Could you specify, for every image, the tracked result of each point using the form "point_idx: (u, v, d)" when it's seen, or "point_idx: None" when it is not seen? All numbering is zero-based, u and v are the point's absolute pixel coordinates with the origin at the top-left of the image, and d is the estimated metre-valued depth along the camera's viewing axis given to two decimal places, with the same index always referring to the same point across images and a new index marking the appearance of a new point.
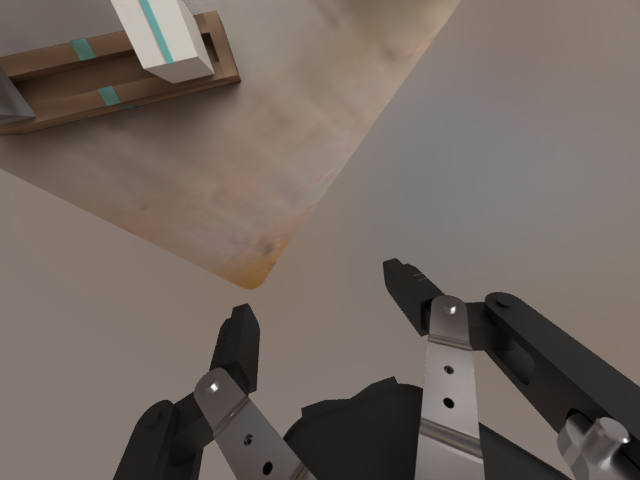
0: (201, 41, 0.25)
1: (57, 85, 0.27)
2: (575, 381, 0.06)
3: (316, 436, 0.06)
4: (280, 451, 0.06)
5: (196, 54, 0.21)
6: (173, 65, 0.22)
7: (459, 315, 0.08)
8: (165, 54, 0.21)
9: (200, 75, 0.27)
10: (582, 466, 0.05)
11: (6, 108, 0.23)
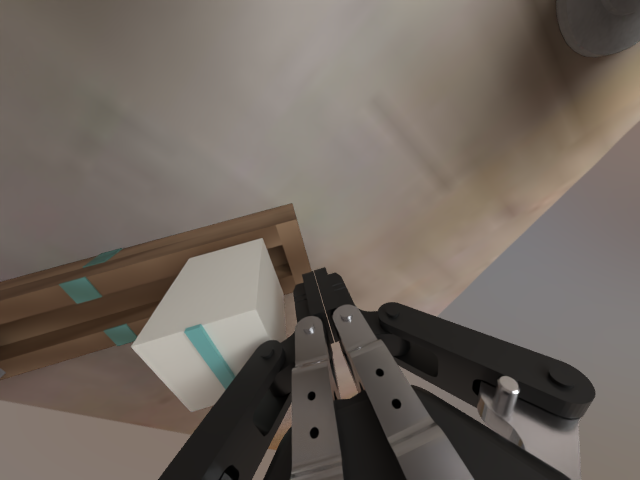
0: (272, 273, 0.15)
1: (41, 314, 0.17)
2: (469, 358, 0.07)
3: (316, 436, 0.06)
4: (329, 429, 0.06)
5: None
6: None
7: (350, 324, 0.09)
8: None
9: None
10: (510, 430, 0.06)
11: None
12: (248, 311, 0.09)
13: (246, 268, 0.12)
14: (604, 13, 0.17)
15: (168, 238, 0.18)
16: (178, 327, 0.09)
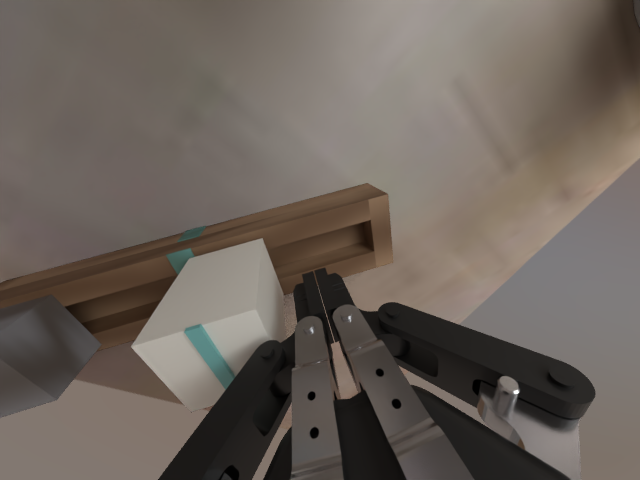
0: (272, 273, 0.15)
1: (132, 288, 0.18)
2: (469, 358, 0.07)
3: (316, 436, 0.06)
4: (329, 429, 0.06)
5: None
6: None
7: (351, 324, 0.09)
8: None
9: None
10: (510, 430, 0.06)
11: (65, 375, 0.14)
12: (248, 311, 0.09)
13: (247, 268, 0.12)
14: None
15: (251, 216, 0.19)
16: (178, 327, 0.09)
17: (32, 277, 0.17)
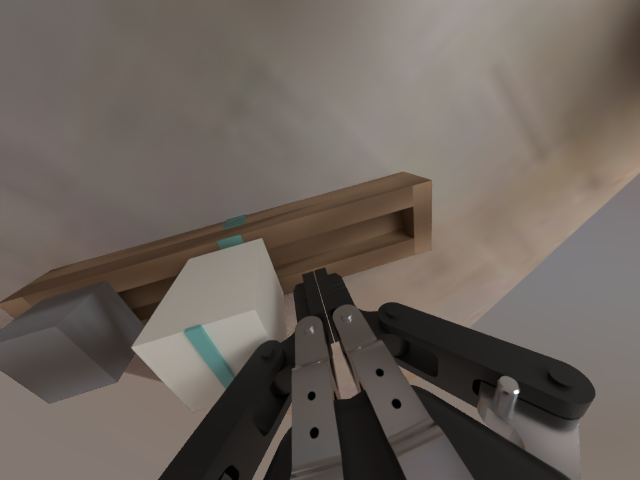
0: (272, 273, 0.15)
1: (176, 276, 0.18)
2: (469, 358, 0.07)
3: (316, 436, 0.06)
4: (330, 429, 0.06)
5: None
6: None
7: (351, 324, 0.09)
8: None
9: None
10: (510, 430, 0.06)
11: (122, 359, 0.15)
12: (247, 311, 0.09)
13: (246, 268, 0.12)
14: None
15: (291, 204, 0.19)
16: (178, 328, 0.09)
17: (80, 265, 0.17)
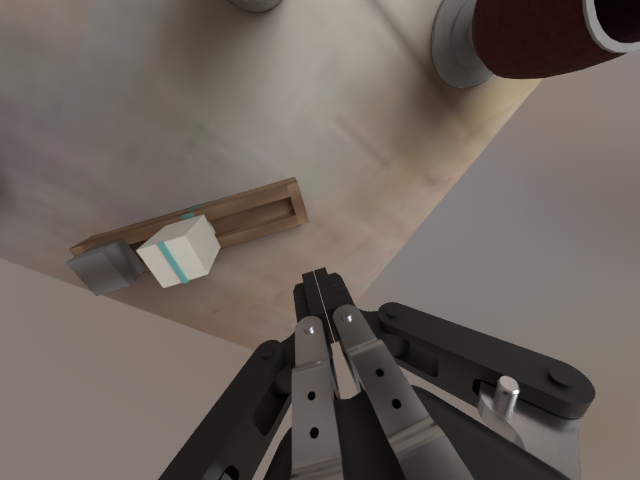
0: (209, 232, 0.29)
1: None
2: (469, 358, 0.07)
3: (316, 436, 0.06)
4: (329, 429, 0.06)
5: (206, 273, 0.25)
6: None
7: (351, 324, 0.09)
8: (181, 277, 0.25)
9: None
10: (509, 430, 0.06)
11: (131, 276, 0.28)
12: (182, 236, 0.23)
13: (189, 225, 0.26)
14: (461, 66, 0.31)
15: (227, 197, 0.33)
16: (154, 243, 0.23)
17: (108, 233, 0.31)
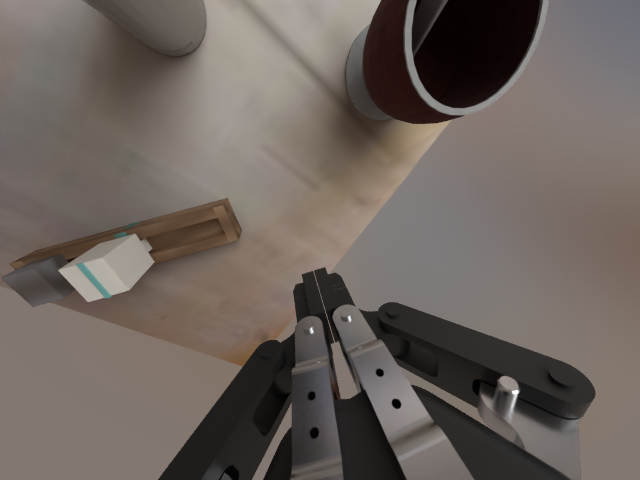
0: (140, 250, 0.32)
1: None
2: (469, 358, 0.07)
3: (316, 436, 0.06)
4: (330, 429, 0.06)
5: (128, 289, 0.28)
6: None
7: (350, 324, 0.09)
8: (103, 292, 0.28)
9: None
10: (509, 430, 0.06)
11: (67, 289, 0.31)
12: (99, 258, 0.26)
13: (114, 246, 0.29)
14: None
15: (163, 216, 0.36)
16: (75, 264, 0.26)
17: (50, 247, 0.34)
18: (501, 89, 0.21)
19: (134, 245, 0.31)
